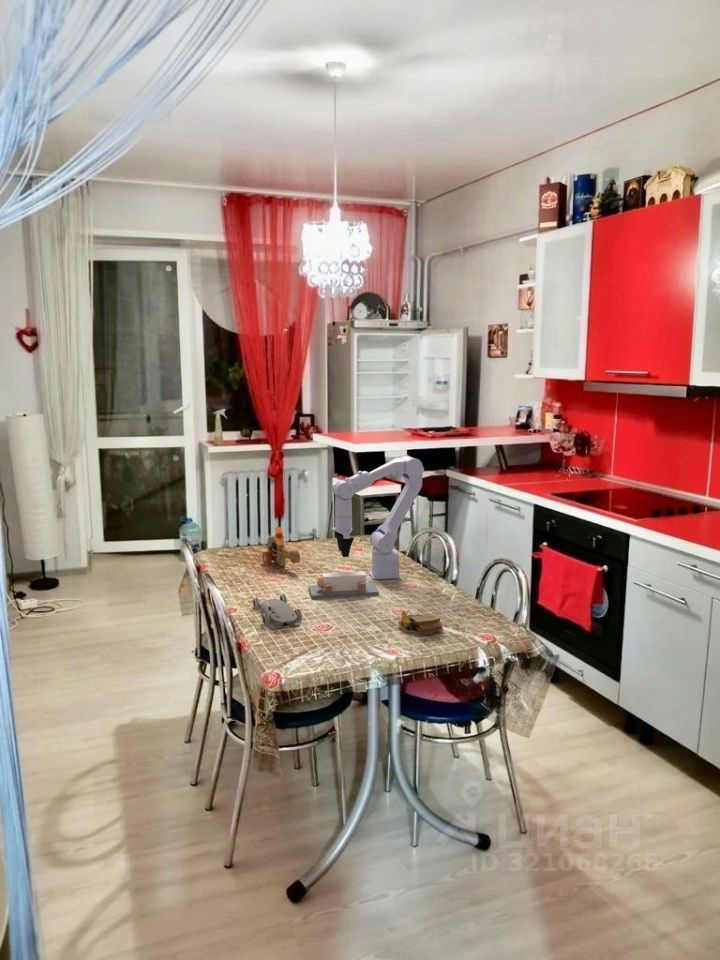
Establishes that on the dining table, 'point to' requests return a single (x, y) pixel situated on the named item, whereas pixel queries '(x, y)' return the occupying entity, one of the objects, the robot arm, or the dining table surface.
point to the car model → (278, 613)
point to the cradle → (363, 590)
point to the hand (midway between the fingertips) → (343, 553)
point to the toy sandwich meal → (420, 623)
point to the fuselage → (342, 580)
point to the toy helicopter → (279, 550)
